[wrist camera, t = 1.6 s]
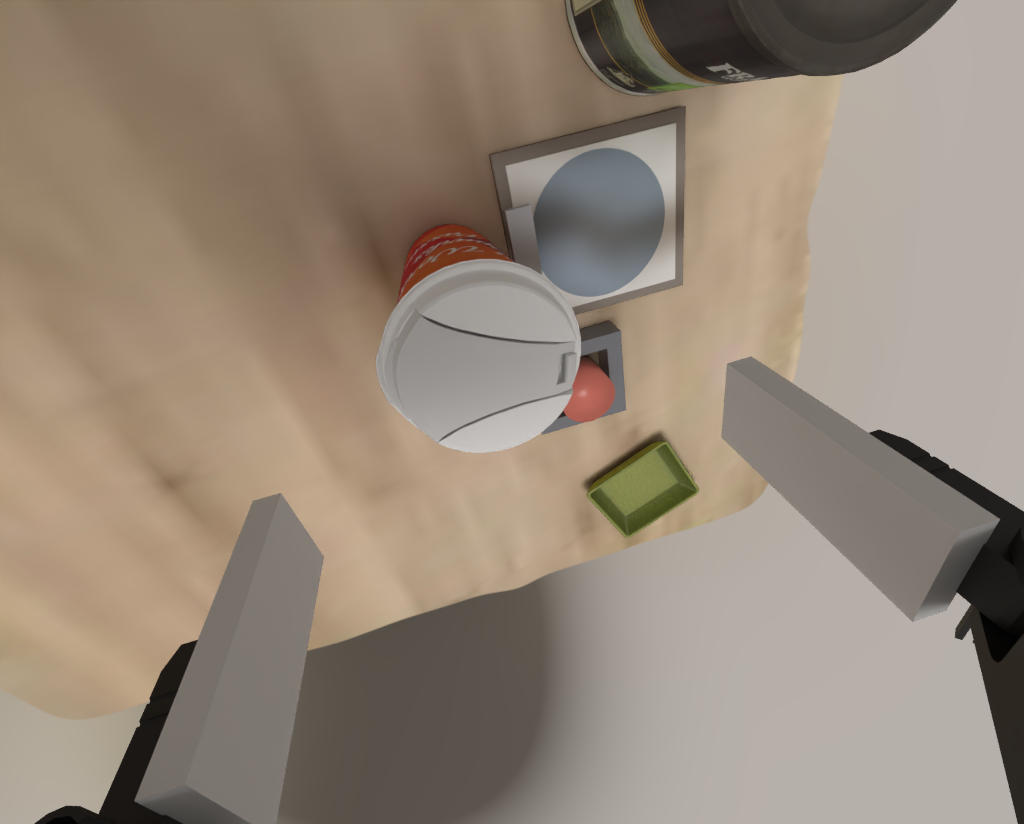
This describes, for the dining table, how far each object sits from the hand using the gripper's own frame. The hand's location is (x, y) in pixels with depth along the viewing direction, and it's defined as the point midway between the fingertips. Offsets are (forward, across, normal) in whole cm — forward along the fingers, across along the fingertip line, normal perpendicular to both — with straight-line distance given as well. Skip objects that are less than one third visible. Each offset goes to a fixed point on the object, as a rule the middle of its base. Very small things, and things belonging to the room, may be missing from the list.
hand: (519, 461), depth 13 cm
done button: (+19, +7, -10) cm, 22 cm away
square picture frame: (+20, +10, +1) cm, 22 cm away
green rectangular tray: (+21, +12, -24) cm, 34 cm away
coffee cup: (+20, 0, 0) cm, 20 cm away
